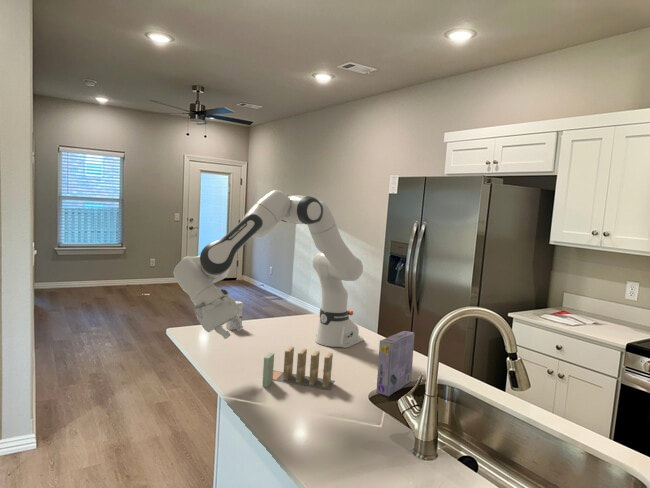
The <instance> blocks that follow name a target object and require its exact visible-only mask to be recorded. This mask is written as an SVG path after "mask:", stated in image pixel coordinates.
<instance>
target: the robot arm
mask: <svg viewBox="0 0 650 488" xmlns="http://www.w3.org/2000/svg"><path fill="white" fill-rule="evenodd" d="M280 222H283V223H289V224H293V225H307V227H308V231H309V232H310V235H311V238H312V240H313V243H314V246H315V247H316V249H317V250H318V252H317V253H316V254H315V255H314V257H313V259H312V267H313V269H314V271H315V272H316V274H317V275H318V278H319V282H320V285H321V286H320V288H321V307H320V310H319V320H318V326H317V333H316V334H315V340H314V342H315V343H317V344H319V345H322V346H325V347H331V348H332V347H334V348H337V347H338V348H344V349H345V348H346V349H347V348H349V347H352V346H355V345H357V344H359V343H361V342H363V341H364V337H363V336H362V335H360V334H359V326H358V325H357V324H356V323H355V322H353V321H352V320H351V319H350V316H353V315H354V311H353V310H351V309H349V310H348V300H349V299H348V298H349V293H348V291H347V289H346V288H345V287H344V285H343V282H342V281H344V282H355V281H357V280H359V279H360V278H361V277H362V274H363V272H364V266H363V265H364V264H363V262H362V260H361V259H359V258H358V257H357V256H356V255H354V253H353V252H352V251H351V250H350V248H349V247H348V245H347V244H346V243H345V241H344V240H343V238H342V235H341V234H340V231H339V229H338V227H337V224H336V221H335V218H334V215H333V214H332V211H331V209H330V208H329V207H328V205H327V202H324V201H323V200H318V199H317V198H316V197H313V196H311V195H307V196H306V195H301V194H294V195H288V194H286V193H285V192H283V191H282V190H279V189H273V190H271V191H269V192H268V193H266V194H265V195H264V196H262V197H261V198H260V199H259V200H257V202H255V203H254V204H253V205H252V206H251V207H250V209H249V210H248V211H247V212H246V213H245V215H244V216H243V218H242V219H241V220H240V221H239V222H238V224H236V225H235V226H234V227H233V228H231V230H229V232H228V233H227V234H225V235H224V236H223V237H221V238H220V239H218V240H215V241H213V242H210V243H208V244H206V245H205V246H204V247H203V248H202V250H201V252H200V254H199V255H198V256H189V255H188V256H185V257H183V258H181V259H180V260H179V261H178V262H177V263H176V265H175V266H174V268H173V272H172V274H173V276H174V279H175V281H176V282H177V284H178V285H179V286H180V288H181V290H183V292H185V293H186V294H187V295H188V296H189V298H190V300H191V302H192V304H193V305H194V313H195V316H196V318H197V321H198V322H199V324H200V325H201V327H202V329H204V331H206V332H207V333H211V332H212V331H215V332H216V333H217V334H219V335H220V336H221V337H223V339H224V340H226V339H228V338H230V336H231V333H230V332H229V330H226V329H224V328H223V325H225V324H226V323H227V322H229V321H230V320H231V321H232V322H234V324H235V326H236V327H235V328H236V329H235V330H236V331H238V332H240V331H241V330H242V329H243V328H244V326H243V324H242V325H241V323H240V320H239V318H238V315H239V314H240V313H241V310H240V308H239V306H238V305H237V304H236V302H235V301H236V300H235V299H234V298H233V297H232V296H230V292H229V290H227V289H225V288H219V287H217V286H216V285H215V284H216V283H218V282H220V281H223V280H224V279H225V278H226V277H228V275H229V273H230V270H231V267H232V263H233V260H234V256H236V253H238V251H239V250H240V249H241V248H242V247H243V246H244V245H245V244H246V243H247V242H248V241H249V240H251V239H252V238H253V237H258V238H263V237H265V236H266V235H268V234H269V233H270V232H272V231H273V230H274V229H275V228H276V227H277V226H278V225H279V223H280Z"/></svg>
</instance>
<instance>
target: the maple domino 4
mask: <svg viewBox="0 0 650 488" xmlns="http://www.w3.org/2000/svg"><path fill="white" fill-rule="evenodd" d="M332 367H333V352H327V353H326V355H325V356H324V360H323V373H322V379H323V385H322V387H325V388H327V387H328V386H329V384H330V382H331V380H332Z"/></svg>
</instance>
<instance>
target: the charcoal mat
mask: <svg viewBox="0 0 650 488" xmlns="http://www.w3.org/2000/svg"><path fill="white" fill-rule="evenodd" d="M283 373H284V371H279V370H273V381H272V382H279V383H285V384H290V385H297V386H300V387H301V386H303V387H308V388H313V389H317V390H318V389H319V390H325V391H331V389H332V387H333V386H334V383H335V382H336V381H335V380H333V379H331V382H330V384H329V386H328V387H327V388H325V387H322V385H323V378H321V377H318V380H317V381H316V383H315V385H314V386H313V385H309V379H310V375H305V378H304V379H303V381H302V382H301V383H296V374H297V373H292V376H291V378H290V379H289V380H288V381H284V380H283Z"/></svg>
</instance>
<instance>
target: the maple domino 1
mask: <svg viewBox="0 0 650 488" xmlns="http://www.w3.org/2000/svg"><path fill="white" fill-rule="evenodd" d="M294 352H295V347H294V346H289V347H287V348H286V349H285V351H284V359H283V361H284V362H283V372H284V373H283V380H284V381H288V380H289V379H290V378H291V376H292V374H293V373H294V372H293V371H294V370H293V369H294V368H293V367H294V356H295V355H294Z"/></svg>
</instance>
